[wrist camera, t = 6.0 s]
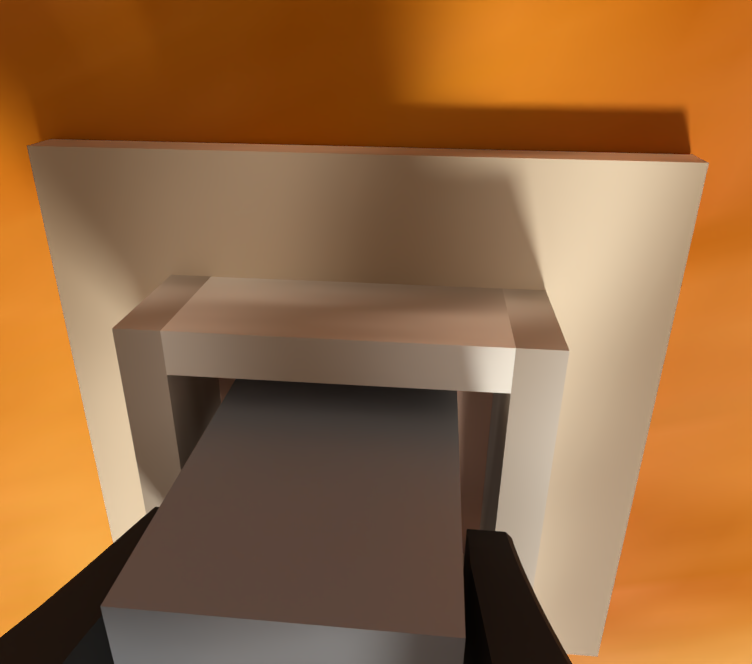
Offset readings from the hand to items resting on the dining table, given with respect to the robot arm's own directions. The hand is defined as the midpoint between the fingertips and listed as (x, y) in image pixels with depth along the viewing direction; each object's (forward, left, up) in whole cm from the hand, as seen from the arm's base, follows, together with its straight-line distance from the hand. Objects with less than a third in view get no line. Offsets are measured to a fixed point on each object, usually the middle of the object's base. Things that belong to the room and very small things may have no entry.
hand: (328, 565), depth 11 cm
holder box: (0, 0, -4) cm, 4 cm away
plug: (0, 0, -3) cm, 4 cm away
